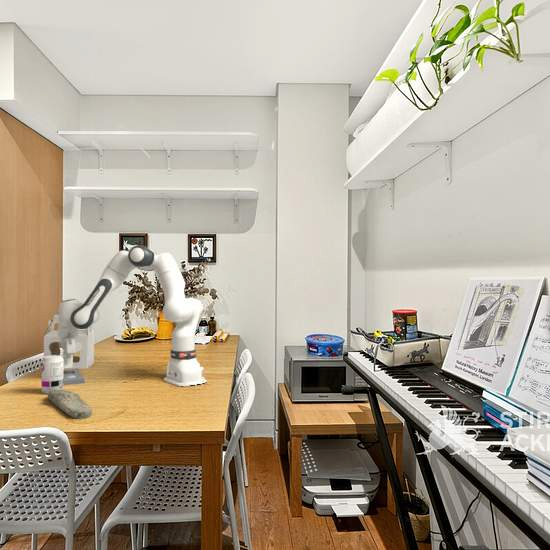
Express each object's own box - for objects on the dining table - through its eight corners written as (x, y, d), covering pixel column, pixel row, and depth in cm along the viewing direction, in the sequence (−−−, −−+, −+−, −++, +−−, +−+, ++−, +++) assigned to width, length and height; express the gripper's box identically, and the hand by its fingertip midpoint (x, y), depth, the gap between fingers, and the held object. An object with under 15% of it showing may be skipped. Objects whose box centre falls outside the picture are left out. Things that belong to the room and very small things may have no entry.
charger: (72, 367, 206) (72, 351, 206) (63, 368, 204) (63, 352, 204) (71, 365, 210) (71, 350, 210) (62, 366, 207) (62, 351, 207)
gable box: (42, 369, 221) (43, 315, 221) (52, 364, 234) (52, 313, 234) (87, 368, 224) (88, 315, 224) (94, 363, 237) (95, 313, 237)
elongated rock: (69, 426, 146) (98, 421, 153) (70, 411, 146) (99, 407, 153) (41, 397, 172) (67, 394, 178) (42, 384, 171) (69, 382, 178)
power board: (84, 382, 196) (84, 377, 196) (60, 385, 191) (60, 380, 191) (76, 372, 215) (76, 368, 215) (54, 375, 209) (54, 370, 209)
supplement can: (39, 395, 176) (39, 359, 176) (44, 389, 184) (44, 355, 184) (60, 393, 178) (61, 358, 178) (64, 388, 186) (65, 354, 186)
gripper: (78, 334, 200) (78, 364, 200) (72, 329, 217) (71, 356, 217) (63, 335, 196) (63, 365, 196) (58, 330, 213) (58, 357, 214)
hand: (67, 360), depth 207 cm, fingers closed on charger, 4 cm apart
